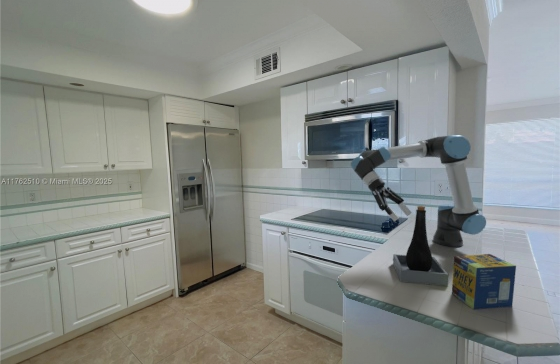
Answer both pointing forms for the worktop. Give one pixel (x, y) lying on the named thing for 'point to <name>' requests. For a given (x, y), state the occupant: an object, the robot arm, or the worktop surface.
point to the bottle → (419, 245)
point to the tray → (420, 272)
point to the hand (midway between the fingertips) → (403, 217)
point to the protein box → (483, 281)
